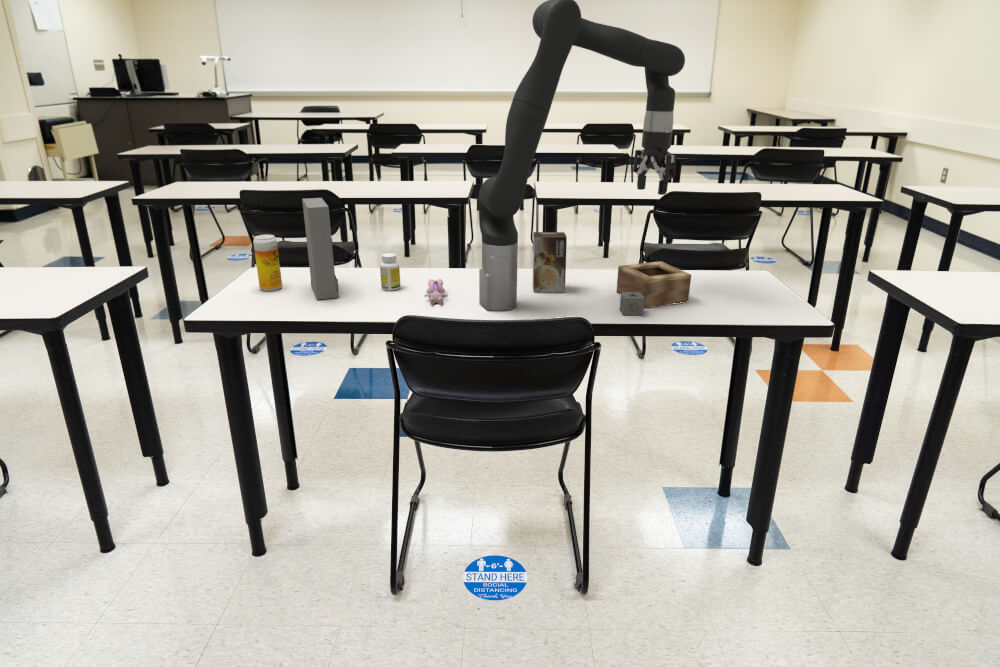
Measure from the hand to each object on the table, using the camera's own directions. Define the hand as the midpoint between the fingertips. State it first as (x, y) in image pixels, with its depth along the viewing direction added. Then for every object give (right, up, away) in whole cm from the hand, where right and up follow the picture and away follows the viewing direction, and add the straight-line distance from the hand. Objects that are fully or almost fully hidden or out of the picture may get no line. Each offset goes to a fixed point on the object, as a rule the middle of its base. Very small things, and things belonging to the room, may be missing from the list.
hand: (651, 191), depth 175 cm
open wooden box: (+1, -28, +4) cm, 29 cm away
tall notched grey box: (-90, -27, +6) cm, 94 cm away
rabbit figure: (-59, -29, +2) cm, 65 cm away
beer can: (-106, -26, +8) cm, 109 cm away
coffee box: (-27, -26, +10) cm, 39 cm away
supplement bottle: (-72, -26, +10) cm, 77 cm away
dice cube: (-7, -33, -8) cm, 35 cm away
